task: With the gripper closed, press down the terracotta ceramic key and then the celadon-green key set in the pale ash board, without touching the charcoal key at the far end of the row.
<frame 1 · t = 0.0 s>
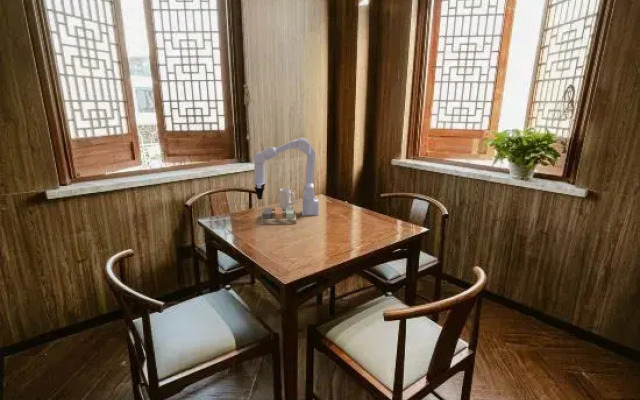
hand: (260, 197, 200), 10 cm above the table, fingers open, 7 cm apart
key terracotta: (278, 213, 193), point 3 cm above the table, slide at 0.0 cm
board: (278, 219, 194), on the table
key charcoal: (267, 214, 193), point 3 cm above the table, slide at 0.0 cm
key celadon: (289, 213, 194), point 3 cm above the table, slide at 0.0 cm
mug: (287, 209, 214), on the table
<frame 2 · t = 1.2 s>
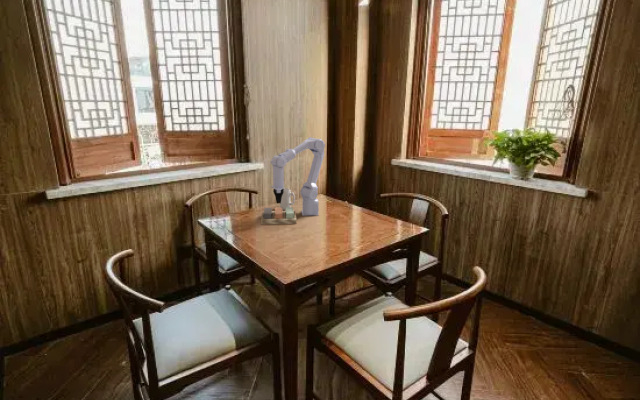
hand: (278, 202, 192), 10 cm above the table, fingers closed
nothing on the table moved.
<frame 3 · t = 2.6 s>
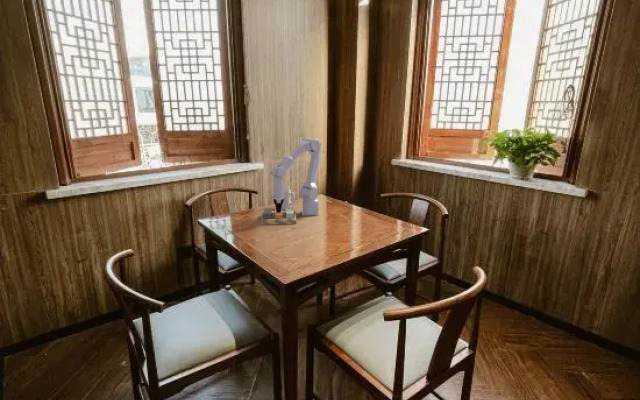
hand: (278, 212, 193), 4 cm above the table, fingers closed, pressing on key terracotta
key terracotta: (278, 215, 194), point 2 cm above the table, slide at 0.9 cm, touching gripper
everything else where it was.
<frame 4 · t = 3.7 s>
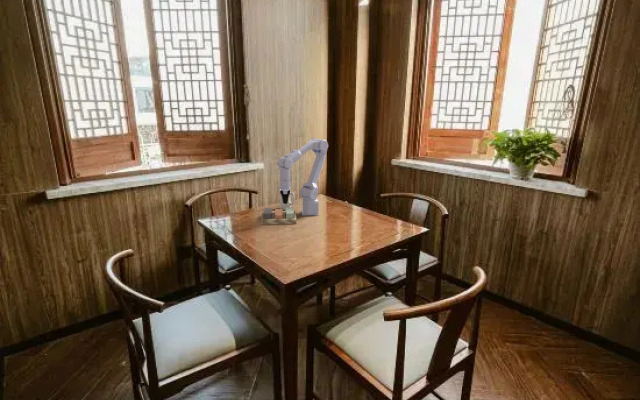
hand: (285, 203, 192), 9 cm above the table, fingers closed
key terracotta: (278, 215, 194), point 2 cm above the table, slide at 1.0 cm
everything else where it was.
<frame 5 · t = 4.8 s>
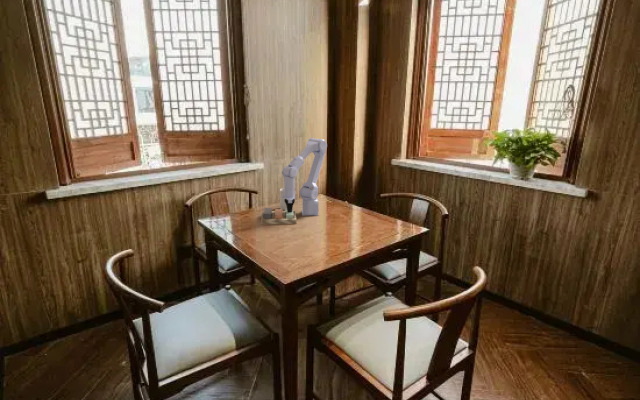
hand: (289, 212, 194), 4 cm above the table, fingers closed, pressing on key celadon
key celadon: (289, 215, 194), point 2 cm above the table, slide at 1.0 cm, touching gripper
everything else where it was.
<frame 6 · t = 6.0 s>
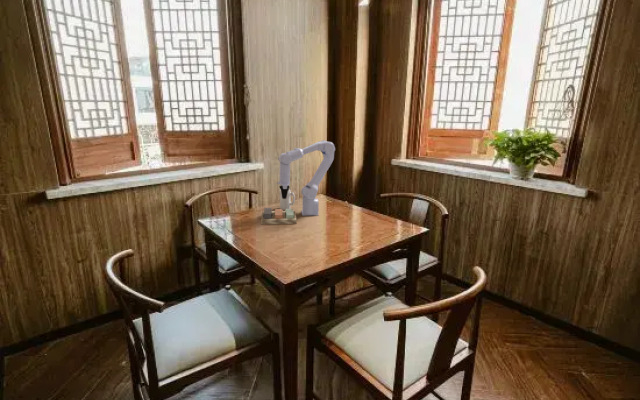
hand: (284, 198, 198), 10 cm above the table, fingers closed
key celadon: (289, 215, 194), point 2 cm above the table, slide at 1.0 cm
everything else where it was.
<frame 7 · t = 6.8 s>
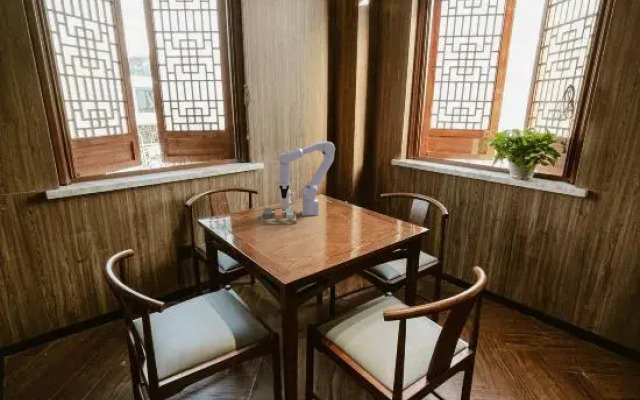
hand: (283, 198, 198), 10 cm above the table, fingers closed
nothing on the table moved.
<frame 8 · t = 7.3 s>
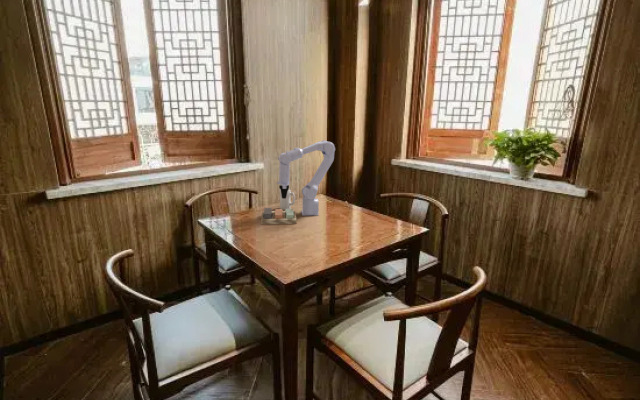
hand: (283, 198, 198), 10 cm above the table, fingers closed
nothing on the table moved.
at the end: key terracotta slide at 1.0 cm; key celadon slide at 1.0 cm; key charcoal slide at 0.0 cm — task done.
